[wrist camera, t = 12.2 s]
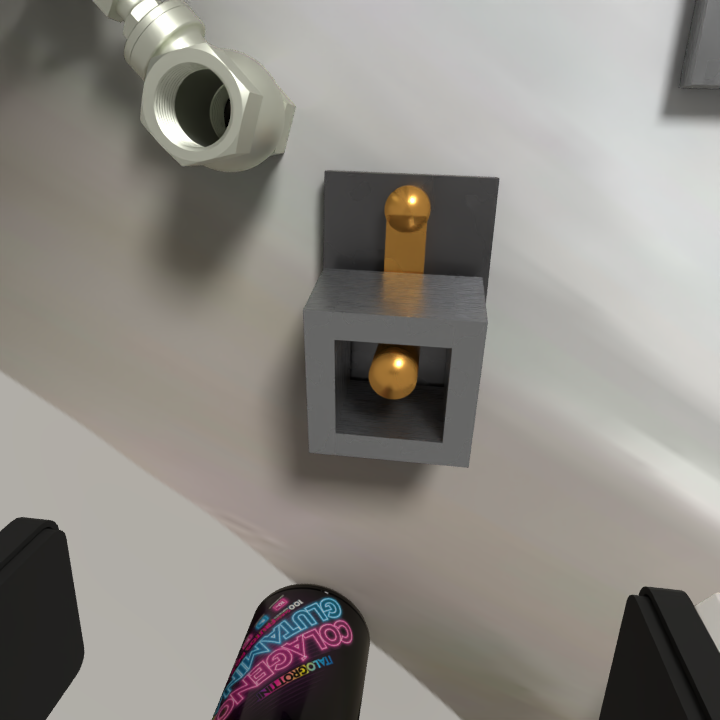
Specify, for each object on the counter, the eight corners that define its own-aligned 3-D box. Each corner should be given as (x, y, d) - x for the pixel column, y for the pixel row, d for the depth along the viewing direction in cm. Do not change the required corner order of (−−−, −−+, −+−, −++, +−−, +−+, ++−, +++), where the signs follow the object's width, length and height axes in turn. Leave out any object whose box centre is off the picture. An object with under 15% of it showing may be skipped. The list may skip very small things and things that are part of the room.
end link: (324, 268, 24) (303, 309, 21) (482, 277, 24) (487, 322, 20) (326, 397, 28) (309, 452, 24) (466, 409, 27) (468, 467, 23)
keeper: (328, 170, 25) (300, 174, 20) (496, 177, 24) (512, 183, 19) (325, 407, 29) (300, 463, 24) (471, 420, 28) (477, 480, 23)
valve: (343, 98, 24) (129, -156, 22) (310, 81, 18) (9, -273, 16) (236, 209, 26) (31, -15, 24) (173, 227, 20) (-109, -71, 18)
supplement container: (390, 603, 32) (367, 799, 22) (350, 688, 35) (313, 899, 25) (273, 559, 32) (200, 736, 23) (241, 647, 35) (162, 841, 25)
